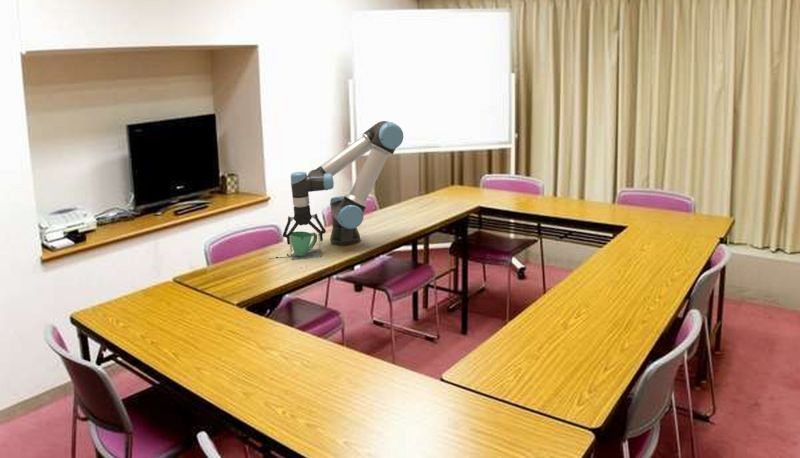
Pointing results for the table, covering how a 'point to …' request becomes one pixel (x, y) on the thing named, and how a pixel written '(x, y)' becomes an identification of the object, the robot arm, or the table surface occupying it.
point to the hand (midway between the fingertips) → (305, 249)
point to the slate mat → (308, 254)
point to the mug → (302, 242)
